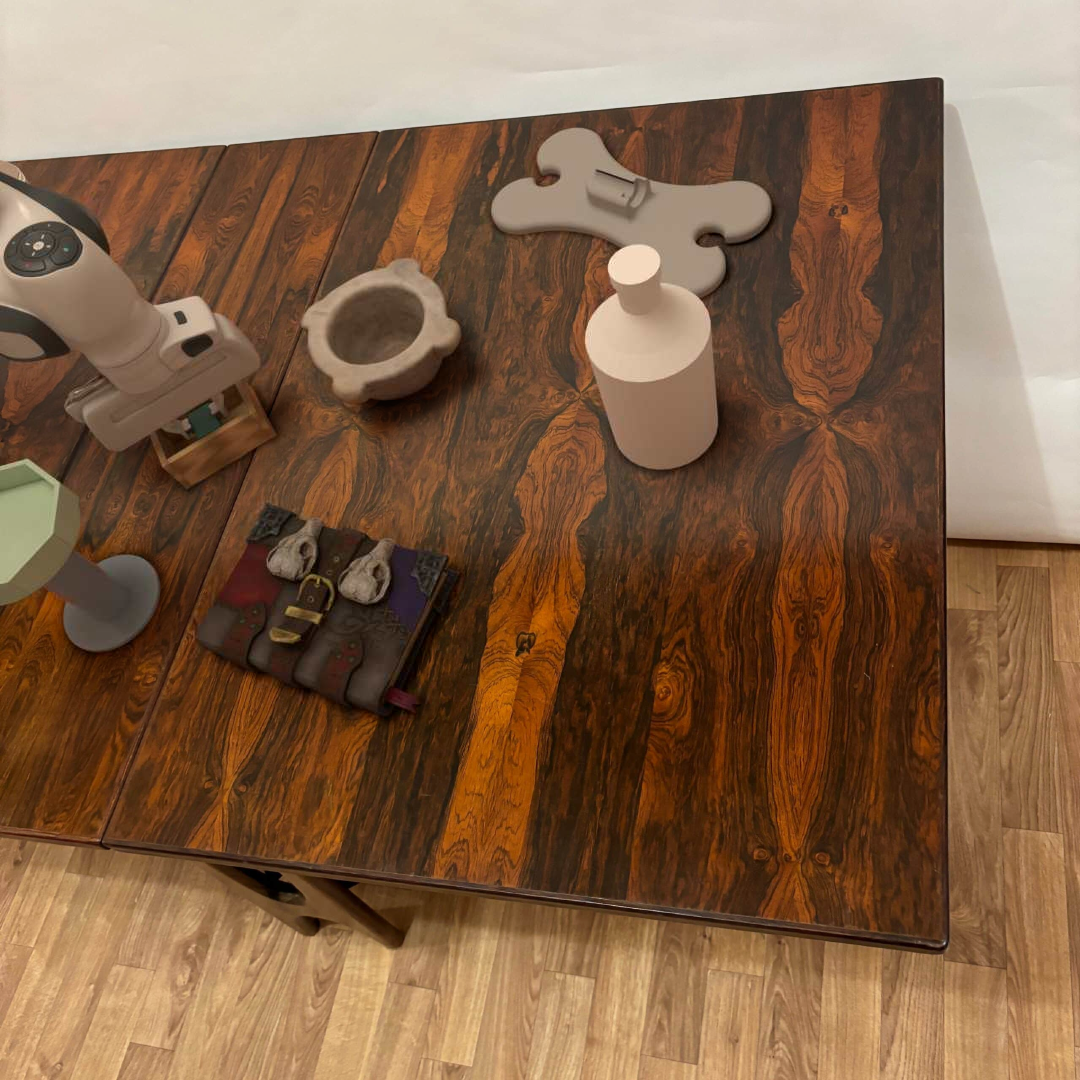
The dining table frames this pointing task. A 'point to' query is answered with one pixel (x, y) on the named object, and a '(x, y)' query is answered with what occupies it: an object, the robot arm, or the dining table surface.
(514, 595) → the dining table surface
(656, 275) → the bottle
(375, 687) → the book
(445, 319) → the mortar
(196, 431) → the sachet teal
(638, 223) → the grey flat lobed piece
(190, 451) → the wood holder
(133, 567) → the goblet
